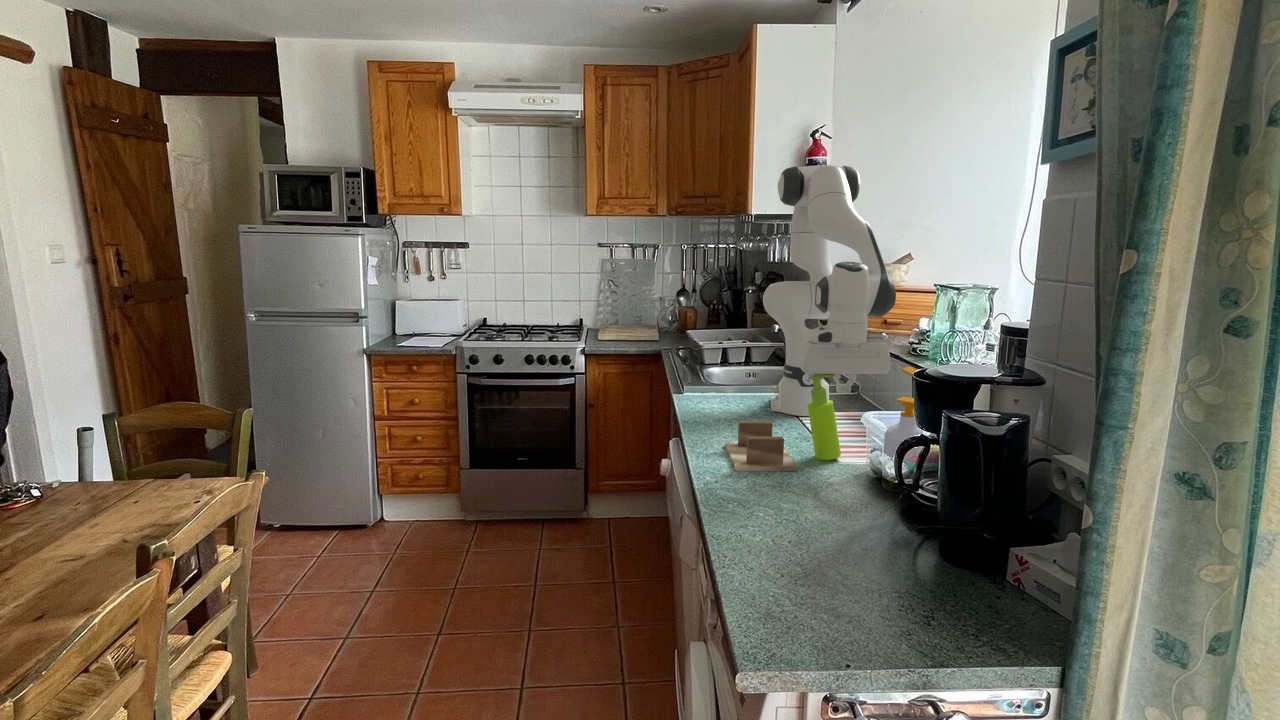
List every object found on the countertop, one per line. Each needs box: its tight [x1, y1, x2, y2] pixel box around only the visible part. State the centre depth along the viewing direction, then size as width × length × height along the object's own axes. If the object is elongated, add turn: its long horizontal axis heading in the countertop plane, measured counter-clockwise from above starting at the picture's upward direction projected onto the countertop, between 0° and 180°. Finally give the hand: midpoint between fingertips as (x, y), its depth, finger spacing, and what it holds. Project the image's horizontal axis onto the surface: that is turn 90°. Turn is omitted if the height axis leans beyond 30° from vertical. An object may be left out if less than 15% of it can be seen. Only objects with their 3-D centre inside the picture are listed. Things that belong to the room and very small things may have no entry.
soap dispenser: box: [807, 374, 842, 461], centre depth 159 cm, size 6×7×20 cm
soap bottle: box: [883, 366, 923, 462], centre depth 145 cm, size 9×9×25 cm
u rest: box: [724, 420, 799, 472], centre depth 160 cm, size 18×14×7 cm
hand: (843, 392), depth 158 cm, fingers closed
